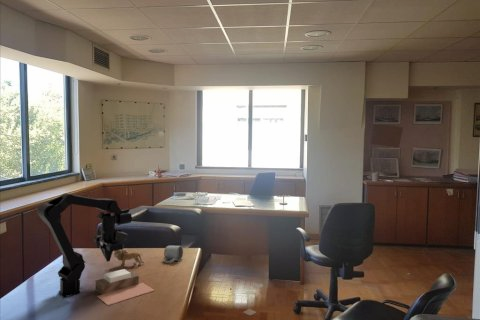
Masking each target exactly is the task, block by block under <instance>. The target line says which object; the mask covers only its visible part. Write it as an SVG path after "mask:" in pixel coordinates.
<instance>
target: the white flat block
mask: <svg viewBox="0 0 480 320" xmlns="http://www.w3.org/2000/svg"><path fill="white" fill-rule="evenodd" d="M103 274H104V275H103V278H104V279H105V280H107V281H108V282H110V283H112V282H116V281H120V280H123V279H127V278H130V277H131V273H130V271H128V270H127V269H125V268H123V269H119V270H118V269H117V270H114V271H111V272H107V273H103Z"/></svg>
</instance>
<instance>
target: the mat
mask: <svg viewBox="0 0 480 320" xmlns="http://www.w3.org/2000/svg"><path fill="white" fill-rule="evenodd" d="M151 292H155V289H153V288H152V287H150V286H149V285H147V284H145V283H144V282H141V283H139V284H137V285H133V286H130V287H127V288H123V289H120V290H116V291H113V292H110V293H106V294H103V295H101V294H100V295H97V298H98V299H99V300H100V301H102V302H103V303H104V304H105V305H106V306H112V305H114V304H117V303H120V302H124V301H126V300H130V299H133V298H137V297H140V296H142V295H146V294H149V293H151Z"/></svg>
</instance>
